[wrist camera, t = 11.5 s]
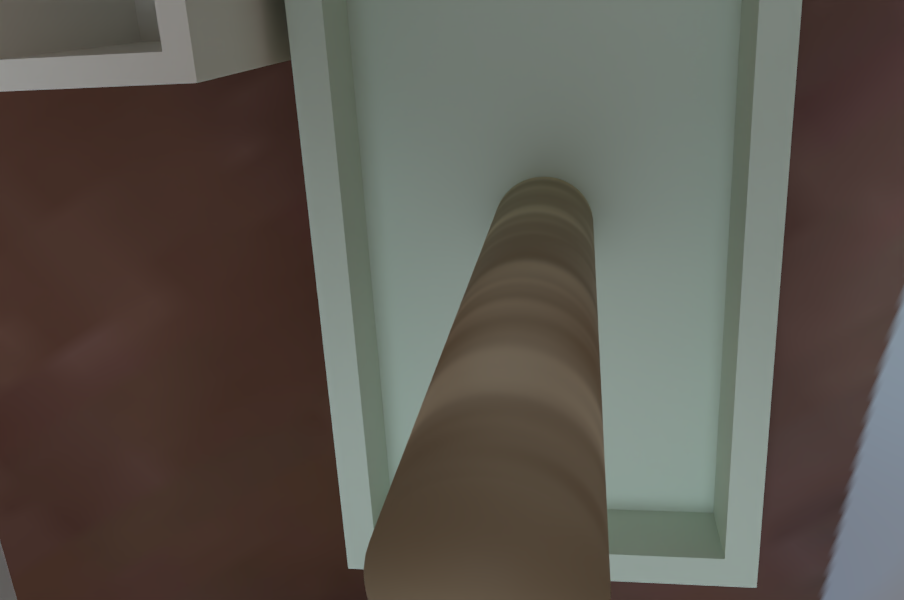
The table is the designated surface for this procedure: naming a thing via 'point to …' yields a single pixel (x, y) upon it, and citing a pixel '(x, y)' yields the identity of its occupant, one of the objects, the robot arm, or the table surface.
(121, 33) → the cup
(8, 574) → the robot arm
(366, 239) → the tray
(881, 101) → the table surface
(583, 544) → the dowel
